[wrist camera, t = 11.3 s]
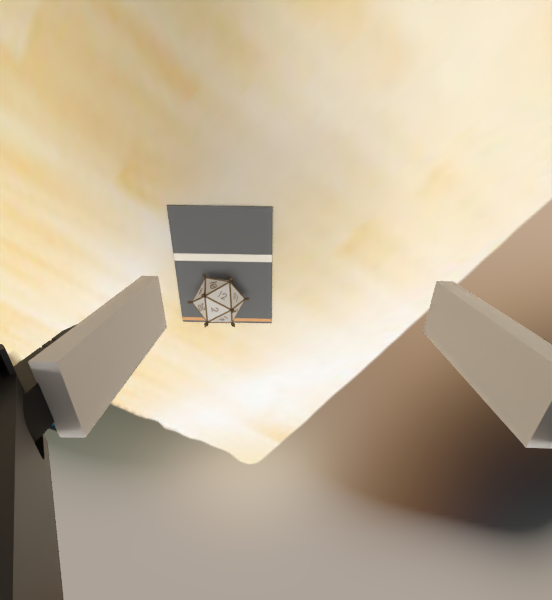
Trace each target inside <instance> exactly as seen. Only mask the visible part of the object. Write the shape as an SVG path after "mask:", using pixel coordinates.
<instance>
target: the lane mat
mask: <svg viewBox="0 0 552 600" xmlns="http://www.w3.org/2000/svg"><path fill="white" fill-rule="evenodd" d="M167 210H168V218H169V225H170V232H171V239H172V246H173V255H174V261H175V268H176V275H177V282H178V289H179V297H180V304H181V311H182V319H183V321H185V322H206V320H205V319H204V318H203V316H202V315H201V314H200V312H199V311H198V310H197V309H196V307H195V306H194V305H193V303H191V304H188V303H186V302H188V301H193V299H194V297H195V295H196V293H197V292H198V290H199V288H200V286H201V284H202V283H203V281H204V279H205V278H204V277H203V273H204V274H205V275H206V277H207V278H216V279H224V280H229V277H232V279H233V281H232V283H233V285H234V286H235V287H236V288H237V289H238V291H239V292H240V293H241V294H242V295H243V297H244V298H246V297H248V298H250V299H249V300H245V301H244V302H243V304H242V306H241V308H240V310H239V311H238V313H237V315H236V317H235V319H234V320H233V322H237V323H272V207H258V206H194V205H167Z"/></svg>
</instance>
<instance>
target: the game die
mask: <svg viewBox="0 0 552 600" xmlns="http://www.w3.org/2000/svg"><path fill="white" fill-rule="evenodd" d="M203 277H204V278H205V279H204V281H203V283H202V284H201V286H200V288H199V290H198V292H197V293H196V295H195V297H194V299H193V301H188V302H186V303H188V304H191V303H193V305H194V306H195V307H196V309H197V310H198V311H199V312H200V314H201V315H202V316H203V318H204V319H205V320H206V323H205V324H204V325H205V327H206V326H208V323H231V325H232V326H233V327H235V324H234V323H233V320H234V319H235V317H236V315H237V313H238V311H239V310H240V308H241V306H242V304H243V302H244V301H245V300H249V299H250V298H248V297H246V298H244V297H243V295H242V294H241V293H240V292H239V291H238V289H237V288H236V287H235V286H234V285H233V283H232V281H233V279H232V277H229V280H224V279H216V278H207V277H206V275H205V274H204V273H203Z"/></svg>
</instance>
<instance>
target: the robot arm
mask: <svg viewBox="0 0 552 600" xmlns="http://www.w3.org/2000/svg"><path fill="white" fill-rule="evenodd" d="M166 327H167V326H166V320H165V314H164V308H163V302H162V296H161V291H160V285H159V279H158V276H141V277H140V278H139V279H137V280H136V281H135V282H133V283H132V284H131V285H129V286H128V287H127V288H125V289H124V290H123V291H121V292H120V293H119V294H117V295H116V296H115V297H113V298H112V299H111V300H109V301H108V302H107V303H105V304H104V305H103V306H101V307H100V308H99V309H97V310H96V311H95V312H93V313H92V314H91V315H89V316H88V317H87V318H85V319H84V320H83V321H81V322H80V323H79V324H77V325H74V326H72V327H70V328H68V329H66V330H63V331H62V332H61V333H59V334H58V335H56V336H55V337H54V338H52V340H51V341H48V342H47V343H45V344H44V345H43V346H42V348H39V349H37V350H36V351H34V352H33V353H32V354H30V355H29V356H28V357H26V358H25V359H23V360H22V361H21V362H19V363H18V364H17V365H15V366H14V367H13V365H12V363H11V360H10V358H9V356H8V354H7V352H6V349H5V348H4V346H3V345H2V344H0V600H63V590H62V580H61V571H60V560H59V550H58V541H57V530H56V521H55V511H54V501H53V491H52V481H51V471H50V462H49V451H48V442H47V440H46V437H45V435H44V433H45V431H46V430H47V429H48V428H49V427H50V426H51V425H52V424H53V423H54V425H55V427H56V429H57V432H58V434H59V436H60V437H79V438H85V437H86V436H87V435H88V433H89V432H90V430H91V429H92V428H93V426H94V425H95V424H96V422H97V421H98V420H99V418H100V417H101V416H102V414H103V413H104V411H105V410H106V409H107V407H108V406H109V405H110V403H111V402H112V401H113V399H114V398H115V396H116V395H117V394H118V392H119V391H120V390H121V388H122V387H123V386H124V384H125V383H126V382H127V380H128V379H129V377H130V376H131V375H132V373H133V372H134V371H135V369H136V368H137V367H138V365H139V364H140V363H141V361H142V360H143V358H144V357H145V356H146V354H147V353H148V352H149V350H150V349H151V348H152V346H153V345H154V344H155V342H156V341H157V339H158V338H159V337H160V335H161V334H162V333H163V331H164V330H165V329H166ZM423 332H424V333H425V335H426V336H427V337H428V338H429V339H430V340H431V341H432V342H433V344H434V345H435V346H436V347H437V348H438V349H439V350H440V351H441V352H442V354H443V355H444V356H445V357H446V358H447V359H448V360H449V362H450V363H451V364H452V365H453V366H454V367H455V368H456V369H457V370H458V372H459V373H460V374H461V375H462V376H463V377H464V378H465V380H467V382H468V383H469V384H470V385H471V386H472V387H473V388H474V390H475V391H476V392H477V393H478V394H479V395H480V396H481V398H482V399H483V400H484V401H485V402H486V403H487V404H488V405H489V406H490V408H491V409H492V410H493V411H494V412H495V413H496V414H497V415H498V417H499V418H500V419H501V420H502V421H503V422H504V423H505V424H506V425H507V427H508V428H509V429H510V430H511V431H512V432H513V433H514V435H515V436H516V437H517V438H518V439H519V440H520V441H521V442H522V443H523V445H524V446H525V447H526V448H552V344H551V343H549V342H548V341H546V340H545V339H543V338H541V337H539V336H538V335H536V334H535V333H533V332H531V331H530V330H528V329H527V328H525V327H524V326H522V325H520V324H519V323H517V322H516V321H514V320H513V319H511V318H509V317H508V316H506V315H505V314H503V313H502V312H500V311H498V310H497V309H495V308H494V307H492V306H491V305H489V304H487V303H486V302H484V301H483V300H481V299H480V298H478V297H476V296H475V295H473V294H472V293H470V292H469V291H467V290H465V289H464V288H462V287H460V286H459V285H458V284H456V283H454V282H449V281H437V282H436V285H435V289H434V293H433V297H432V301H431V304H430V308H429V312H428V316H427V320H426V324H425V327H424V331H423Z"/></svg>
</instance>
